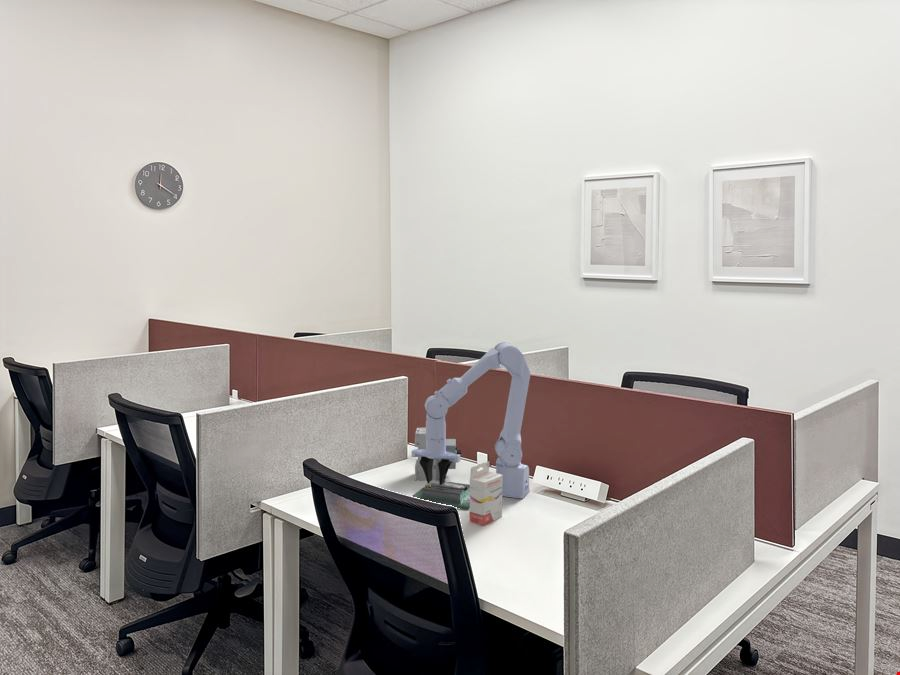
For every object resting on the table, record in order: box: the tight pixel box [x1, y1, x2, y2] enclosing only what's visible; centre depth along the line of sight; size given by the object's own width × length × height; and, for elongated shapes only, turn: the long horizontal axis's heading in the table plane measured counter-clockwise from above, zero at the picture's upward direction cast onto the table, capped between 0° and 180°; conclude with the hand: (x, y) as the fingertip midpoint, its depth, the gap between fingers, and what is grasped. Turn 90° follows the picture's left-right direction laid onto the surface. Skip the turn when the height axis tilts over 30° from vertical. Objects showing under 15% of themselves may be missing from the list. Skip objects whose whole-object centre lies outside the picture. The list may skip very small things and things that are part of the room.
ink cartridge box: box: [469, 461, 503, 527], centre depth 185 cm, size 9×5×15 cm, turn 141°
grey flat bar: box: [429, 480, 466, 490], centre depth 201 cm, size 10×3×1 cm, turn 68°
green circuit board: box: [411, 480, 470, 511], centre depth 202 cm, size 18×13×4 cm
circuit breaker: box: [414, 427, 462, 482], centre depth 221 cm, size 8×14×15 cm, turn 89°
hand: (435, 483), depth 203 cm, fingers closed on grey flat bar, 3 cm apart
